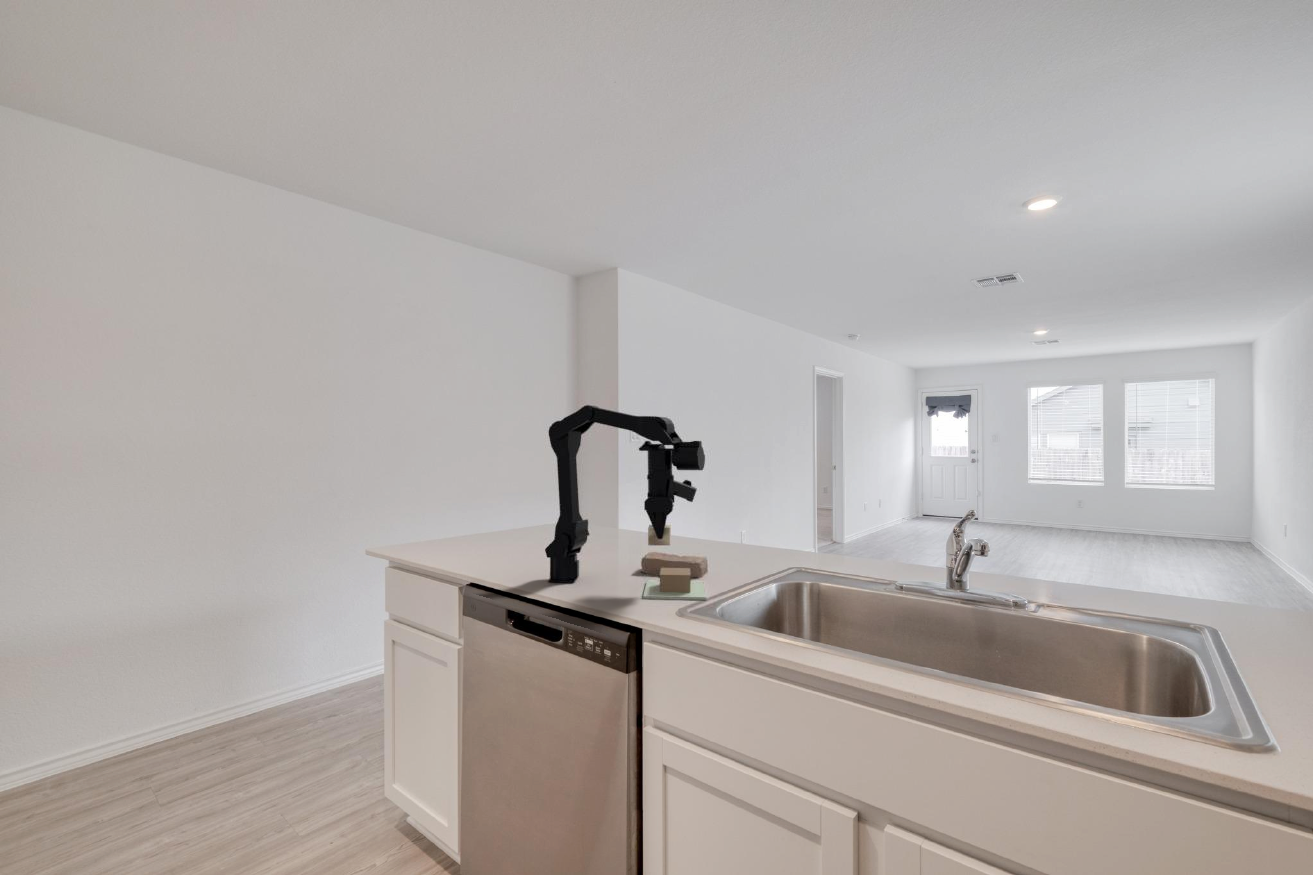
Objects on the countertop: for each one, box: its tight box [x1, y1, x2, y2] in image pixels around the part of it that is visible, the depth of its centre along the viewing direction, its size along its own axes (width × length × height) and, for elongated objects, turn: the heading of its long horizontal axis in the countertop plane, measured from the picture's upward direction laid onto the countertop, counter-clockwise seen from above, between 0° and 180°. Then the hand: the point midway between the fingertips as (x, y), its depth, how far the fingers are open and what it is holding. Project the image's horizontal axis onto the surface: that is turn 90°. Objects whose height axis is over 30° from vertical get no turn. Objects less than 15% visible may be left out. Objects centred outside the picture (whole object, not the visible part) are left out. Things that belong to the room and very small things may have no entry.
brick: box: [640, 551, 709, 579], centre depth 155 cm, size 17×8×5 cm, turn 73°
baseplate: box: [642, 568, 707, 601], centre depth 135 cm, size 14×14×5 cm
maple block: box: [647, 524, 672, 546], centre depth 135 cm, size 5×5×4 cm
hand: (660, 536), depth 135 cm, fingers closed on maple block, 5 cm apart
